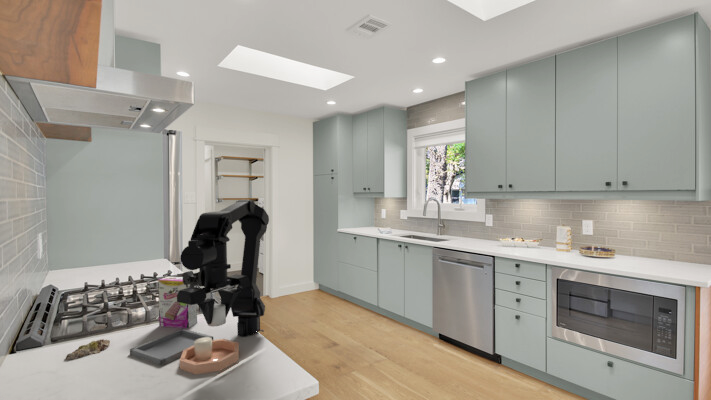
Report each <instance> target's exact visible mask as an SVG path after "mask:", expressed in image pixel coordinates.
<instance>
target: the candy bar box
mask: <svg viewBox="0 0 711 400" xmlns="http://www.w3.org/2000/svg"><path fill="white" fill-rule="evenodd" d="M157 287H158V288H157V289H158V290H157V293H158V294H157V295H158V314H159V315H158V321H159V322H158V324H159V325H158V326H159V327H163V328H178V329H190V328H192V327H193V326H195V325H197V324H198V304H195V305H189V304H185V303H180V302H177V293H178V292H179V290H182V289H186V288H189V287H190V284H188V285H184V283H183V276H165V277H163V278H159V279H158V280H157ZM194 287H196V288H197V285H196V286H194Z"/></svg>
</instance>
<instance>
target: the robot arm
mask: <svg viewBox="0 0 711 400" xmlns="http://www.w3.org/2000/svg"><path fill="white" fill-rule="evenodd" d="M237 221H239V223H240V229H241V231H242V233H243V235H244V245H243V253H242V261H241V262H242V263H241V273H240V274H239V273H238V274H236V273H235V274H231V275H229V276H228V270H229V269H231V263H228V252H227V251H228V250H227V249H228V246H227V245H228V244H227V243H228V242H229V241H230V240H231V239H230V238H229V237H228V236H227V235H228V233H230V231H231V230H232V229H233V224H235V223H236V222H237ZM269 222H270V218H269V214H268V213H267V211H266V210H265V209H264V208H263V207H261V206H259V205H257V204H256V203H255V201H254V200H252V199H238V200H236V201H235V202H234V203H232V204H230V205H228V206H227V207H225V208H222V209H221V210H220V211H209V212H203V213H201V214H200V215H199V217H198V219H197V221H196V223H195V226H194V229H193V232H192V233H191V235H190V236H191V237H190V240H188V241H187V244H188V245H187V246H186V247H184V249H182V251H181V255H180V258H179V259H180V262H181V264H182V266H183V267H184V268H185V269H187V270H189V271H185V272H183V273H182V277H183V283H184V285H188V284H190V287H189V288H186V289H182V290H179V292H178V293H177V302H180V303H185V304H189V305H195V304H197V306H198V307H199V309H200V311H201V312H202V316H203V317H204V320H205V321H206V324H207V325H208V324H211V323H212V318H213V310H214V304H216V299H215V298H212V294H214V293H217V292H218V294H219V297H220V304H225V310H226V318H227V316H228V314H229V312H230V310H231V313H232V317H234V318H235V317H237V321H238V322H237V326H236V327H237V337H242V338H245V337H248V336H253V335H257V334H258V333H259V332H262V333H264V332H265V331H264V329H261V317H264V316H265V312H266V311H265V310H266V305H265V303H264V302H263V300H262V299H261V290H260V289H259V287H258V285H257V278H258V277H257V276H258V269H259V268H258V266H259V259H260V258H259V257H260V249H261V248H260V247H261V239H262V237H263V236H264V234H266V232H267V230H268V229H267V228H268V224H269ZM196 270H199V271H197V272H193V271H196ZM194 286H196V287H194ZM197 286H198V287H197ZM200 287H201V288H200ZM256 331H257V332H258V333H257V332H256Z"/></svg>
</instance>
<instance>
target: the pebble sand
mask: <svg viewBox="0 0 711 400" xmlns="http://www.w3.org/2000/svg"><path fill="white" fill-rule="evenodd" d="M194 349H195V360H197V361H203V360H207V359H209V358H211V357H212V356H213V353H212V338H210V337H204V338H199V339H197V340H195V342H194Z"/></svg>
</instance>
